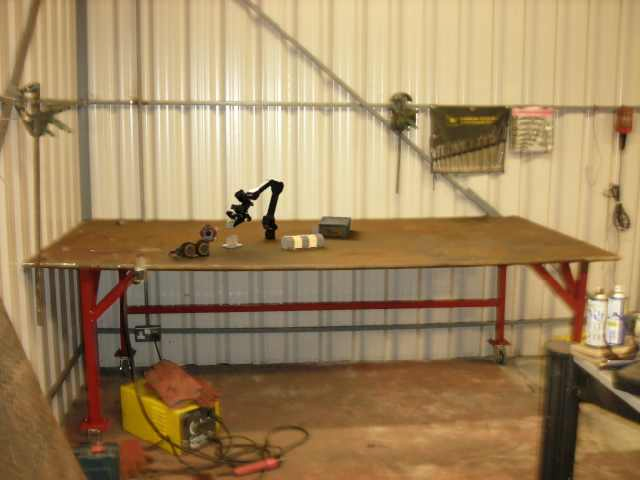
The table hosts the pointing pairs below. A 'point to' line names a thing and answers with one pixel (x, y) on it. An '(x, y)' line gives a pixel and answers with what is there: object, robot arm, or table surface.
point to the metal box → (334, 227)
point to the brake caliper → (208, 233)
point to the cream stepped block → (232, 242)
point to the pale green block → (231, 223)
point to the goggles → (192, 249)
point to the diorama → (303, 240)
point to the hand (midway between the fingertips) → (232, 226)
